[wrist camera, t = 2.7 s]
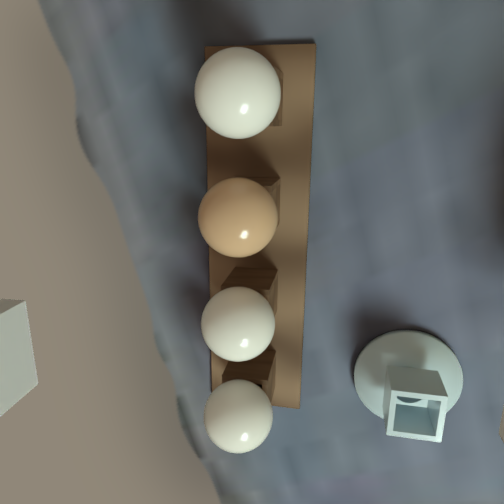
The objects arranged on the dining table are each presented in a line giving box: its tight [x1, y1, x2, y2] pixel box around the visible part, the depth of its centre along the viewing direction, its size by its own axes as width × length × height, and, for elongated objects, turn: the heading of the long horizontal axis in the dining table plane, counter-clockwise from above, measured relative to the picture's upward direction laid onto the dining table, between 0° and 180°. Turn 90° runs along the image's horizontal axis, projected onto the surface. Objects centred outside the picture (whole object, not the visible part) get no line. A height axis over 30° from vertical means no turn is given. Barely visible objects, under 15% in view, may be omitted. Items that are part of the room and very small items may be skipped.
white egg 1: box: [194, 47, 281, 139], centre depth 24 cm, size 5×5×5 cm
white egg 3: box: [204, 379, 273, 453], centre depth 30 cm, size 5×5×5 cm
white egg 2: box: [201, 287, 275, 362], centre depth 28 cm, size 5×5×5 cm
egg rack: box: [205, 44, 316, 409], centre depth 31 cm, size 28×8×5 cm, turn 0°
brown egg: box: [198, 177, 278, 257], centre depth 26 cm, size 5×5×5 cm
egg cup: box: [354, 330, 463, 442], centre depth 32 cm, size 8×8×5 cm
